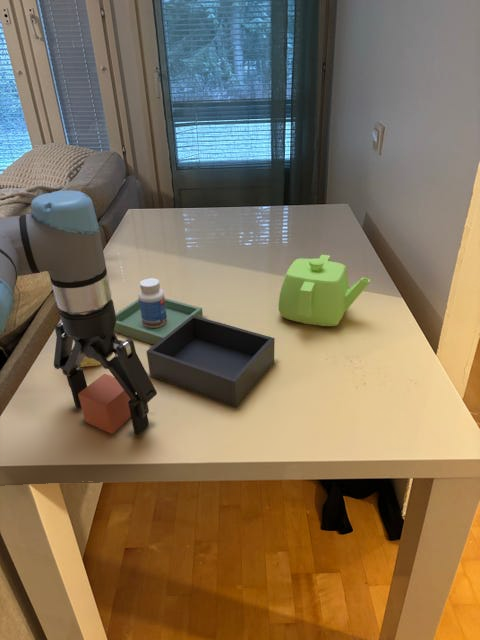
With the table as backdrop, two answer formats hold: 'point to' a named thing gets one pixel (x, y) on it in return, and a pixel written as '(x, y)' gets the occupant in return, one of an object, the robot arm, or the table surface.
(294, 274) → the teapot
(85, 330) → the robot arm
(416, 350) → the table surface
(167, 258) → the table surface
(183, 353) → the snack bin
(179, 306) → the medicine tray
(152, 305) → the pill bottle
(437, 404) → the table surface
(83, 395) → the block
